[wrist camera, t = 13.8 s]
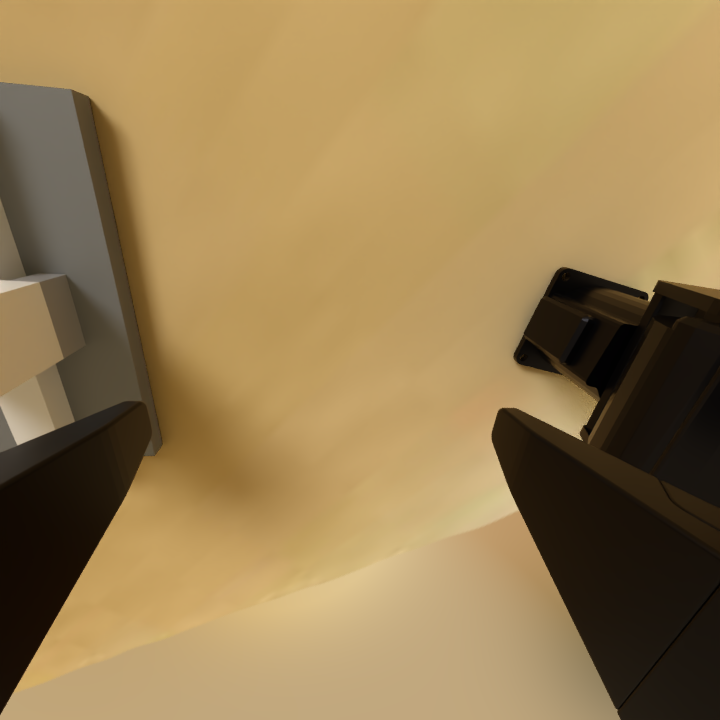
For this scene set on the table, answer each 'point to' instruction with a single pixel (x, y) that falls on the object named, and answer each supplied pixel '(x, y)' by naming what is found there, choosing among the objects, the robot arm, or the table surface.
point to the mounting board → (66, 261)
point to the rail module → (35, 327)
